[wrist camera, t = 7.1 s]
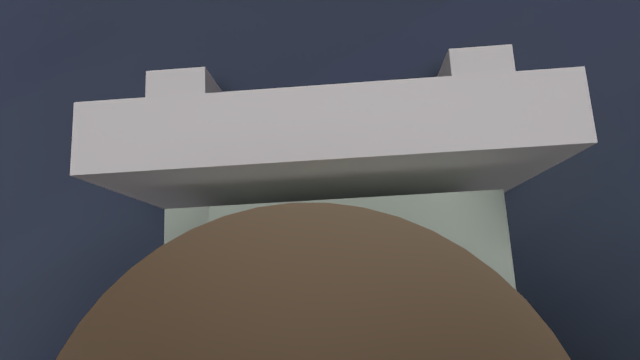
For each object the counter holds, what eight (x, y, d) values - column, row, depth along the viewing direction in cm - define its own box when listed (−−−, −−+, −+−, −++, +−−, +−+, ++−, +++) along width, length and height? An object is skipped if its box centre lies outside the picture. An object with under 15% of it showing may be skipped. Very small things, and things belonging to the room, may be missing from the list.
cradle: (484, 440, 16) (544, 515, 11) (217, 448, 16) (159, 523, 11) (459, 213, 17) (503, 189, 12) (216, 227, 18) (164, 209, 13)
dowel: (381, 411, 15) (532, 1051, 3) (262, 364, 15) (-96, 711, 3) (419, 285, 15) (685, 312, 3) (304, 245, 16) (150, 132, 4)
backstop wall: (500, 194, 17) (597, 142, 11) (176, 213, 18) (69, 175, 11) (485, 81, 18) (567, -35, 11) (177, 102, 19) (79, 4, 12)
